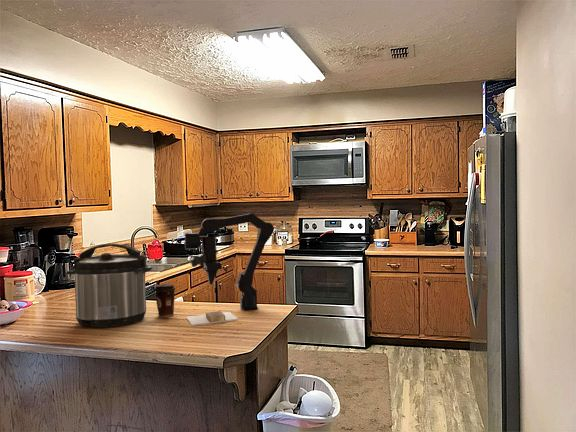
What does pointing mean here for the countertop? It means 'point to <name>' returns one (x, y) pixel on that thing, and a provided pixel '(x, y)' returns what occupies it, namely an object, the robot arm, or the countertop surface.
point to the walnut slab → (215, 316)
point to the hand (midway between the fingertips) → (211, 284)
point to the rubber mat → (202, 320)
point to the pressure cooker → (110, 287)
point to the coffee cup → (165, 299)
